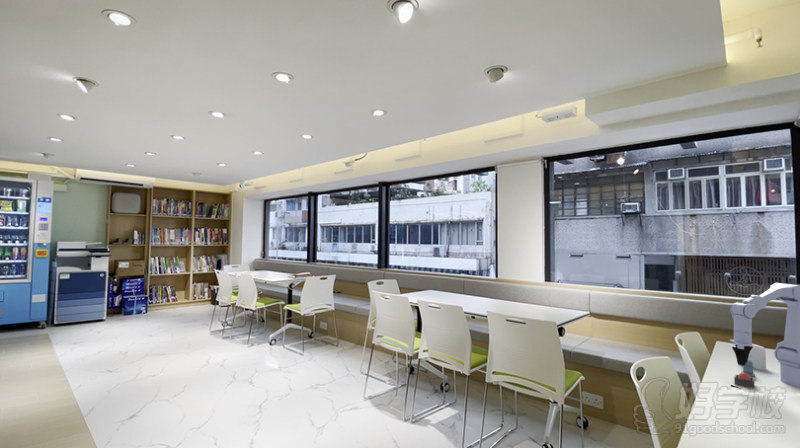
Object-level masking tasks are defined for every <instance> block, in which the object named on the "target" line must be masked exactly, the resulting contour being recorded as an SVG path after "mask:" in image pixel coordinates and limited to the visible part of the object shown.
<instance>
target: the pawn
mask: <svg viewBox="0 0 800 448" xmlns="http://www.w3.org/2000/svg"><path fill="white" fill-rule="evenodd" d="M752 365H753V363H752V361H750V360H748V361H747V363H746V364H745V366H742V371H741V372H740V373H747V374H748V375H749V376H750V377H751V378H752V377H755V375H756V373H754V368H753V366H752Z"/></svg>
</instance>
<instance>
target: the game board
mask: <svg viewBox="0 0 800 448" xmlns="http://www.w3.org/2000/svg"><path fill="white" fill-rule="evenodd" d="M738 376H739V374H735V376H734V378H733V379H734V385H733V384H730V387H731V388H736V389H740V390H742V388H740V387H738V386H741V387H745V388H750V389H754V388H755V383H756V379H757V377H758V375H756V374H755V377H750V378H751V381H750V380H746V379H741V378H738ZM736 385H737V386H736Z"/></svg>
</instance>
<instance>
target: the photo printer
mask: <svg viewBox="0 0 800 448" xmlns="http://www.w3.org/2000/svg"><path fill="white" fill-rule="evenodd" d="M752 347H753V348H752V349H751V351H750V353H749V357H748V360H750V361H752V363H753V365H752V366H753V369H756V370H757V369H758V370H762V371H767V358H766V357H767V356H766V349H765V347H764V346H762V345H759V344H755V343H752Z"/></svg>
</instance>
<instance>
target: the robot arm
mask: <svg viewBox="0 0 800 448" xmlns="http://www.w3.org/2000/svg"><path fill="white" fill-rule="evenodd" d="M775 299H778V300H780V301H781V302H784V303H785V304H786V306H787V308H786V318H785V329H784V337H783V340H782V341H780V342H777V344H776V347H775V349H774V353H773V355H774V358H775V359H776V360H777V362H778V363H779V366H780V367H779V368H780V369H779V370H780V371H779V372H780V382H782V383H784V384H787V385H790V386H794V387H797V388H800V284H791V283H780V282H775V283H773V284H771V285H770V287H769V289H767V290H765V291H764V292H763V293H760V294H759V295H757V294H751V295H750V296H749V297H748V298H746V299H743V300H742V301H741V302H734V303H732V304H731V306H730V308H729V312H730V313H731V316H732V320H733V339H729V342H731V343H734V345H735V346H731V347H732V351H733V352H734V353H735V354H734V355H735V358H736V363H737V366H742V367H743V366H745V364H746V363H747V361H748V357H749V353H750V351H751V349H752V348H753V347H752V344H753V339H752V337H753V336H752V335H753V327H752V323H753V322H752V321H753V318H755V316H756V314H757V312H758V311H760V310H762V309H763V308H766V307H767V305H768V303H769V302H772V301H773V300H775Z"/></svg>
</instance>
